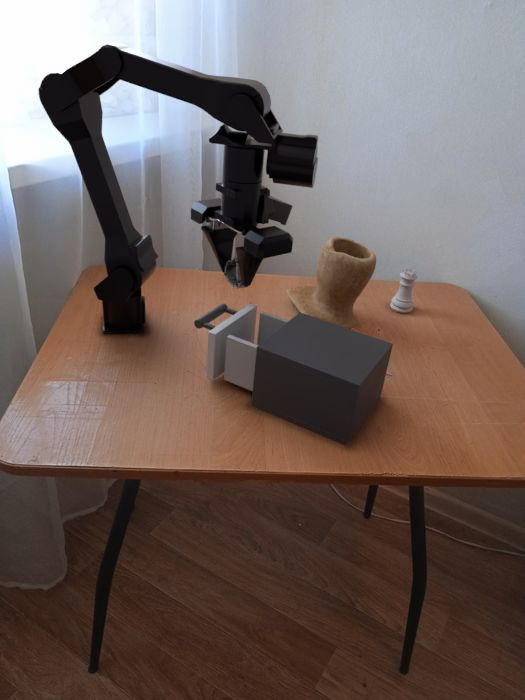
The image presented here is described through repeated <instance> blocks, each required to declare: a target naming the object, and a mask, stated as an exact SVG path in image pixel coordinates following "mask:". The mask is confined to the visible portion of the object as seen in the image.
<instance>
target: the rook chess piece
mask: <svg viewBox="0 0 525 700" xmlns="http://www.w3.org/2000/svg"><path fill="white" fill-rule="evenodd" d="M399 276H400V279H401V280H399V288H398V290H397V292H396V294H395V295H394V296H393V297H392V298H391V300H390V301H391V302H390V303H389V306H390V308H391V309H392V311H394V312H396V313H398V314H409V313H411V312H412V311H413V308H414V307H413V306H414V300H413V296H412V293H413V287H415V281H416V280H417V279H418V276H417V271H416V270H415V269H414V270H413V269H412V268H409V269H408V268H404V269H403V270H402V272H400V273H399Z"/></svg>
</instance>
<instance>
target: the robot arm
mask: <svg viewBox="0 0 525 700" xmlns="http://www.w3.org/2000/svg"><path fill="white" fill-rule="evenodd" d="M119 81H122V82H126V83H128V84H131V85H135V86H136V87H137V86H138V87H140V88H143V89H146V90H149V91H152V92H155V93H158V94H161V95H163V96H167V97H170V98H173V99H176V100H179V101H181V102H184V103H188V104H191V105H194V106H196V107H197V108H200V109H201V110H202V111H204V112H205V113H207V114H208V115H209V116H210V117H212V118H213V119H214V120H216V121H218V122H220V123H222V124H221V125H220V126H219V128H218V129H217V131H216V132H215V133H214V134H213V135H211V136H210V137H209V138H208V142H209V143H210V144H215V145H222V146H223V151H222V174H221V182H216V183H215V191H217V192H218V193H221V195H220V196H221V197H218V198H217V197H216V198H210V199H201V200H196V201H195V202H194V203H193V204H192V206H191V207H190V220H192V221H193V222H194V223H197V224H198V225H201V226H200V230H201V231H202V232H203V233H204V236H205V238H206V239H207V241H208V244H209V246H210V247H211V250H212V252H213V254H214V256H215V258H216V261H217V263H218V265H219V266H218V267H219V268H220V270H221V272H222V273H223V274H224V273H225V266H226V263H227V262H228V260H232V259H233V250H234V243H235V242H234V241H235V238H236V237H237V235H238V234H239V235H242V236H243V245H240V246H236V247H235V254H236V258H237V259H238V264H239V269H240V274H241V279H242V283H243V286H245V288H248V287H250V286H251V285H252V282H253V281H254V278H255V276H256V274H257V272H258V270H259V268H260V266H261V264H262V262H263V260H264V259H268V258H273V257H278V256H283V255H287V254H291V253H292V251H293V247H294V246H293V245H294V237H293V236H292V235H291V234H290V233H289V232H287V231H286V230H284V229H281V228H279V227H278V226H276V225H270V226H265V227H258V224H261V225H265V224H266V225H267V224H269V221H270V220H271V221H273V222H277V223H280V225H283V226H286V225H287V223H288V220H289V217H290V215H291V212H292V209H293V205H292V204H290V203H287V202H286V201H283V200H282V199H279V198H276V197H274V196H272V195H271V189H270V188H268V187H267V186H264V185H263V176H264V175H263V174H264V166H265V173H266V175H267V176H268V178H269V179H271V180H272V182H273V184H278V185H285V186H293V187H302V188H309V189H313V188H314V185H315V181H316V176H317V170H318V162H319V157H318V149H319V148H318V145H319V144H318V142H319V136H318V134H317V135H316V134H295V133H287V132H284V130H283V128H282V126H281V124H280V123H279V121H278V119H277V117H276V115H275V114H274V111H273V110H272V108H271V106H272V100H271V99H272V98H271V94H270V93H269V90H268V89H267V87H266V85H265V84H263V83H262V82H261V81H258V80H256V79H249V78H244V77H243V78H242V77H234V76H223V75H212V74H206V73H203V72H201V71H197V70H196V69H195V70H194V69H191V68H188V67H186V66H183V65H180V64H177V63H174V62H171V61H169V60H165V59H162V58H160V57H157V56H153V55H150V54H148V53H144V52H141V51H138V50H135V49H133V48H130V46H127V45H126V44H124V43H110V44H109V43H107V44H104V45H102V46H101V47H100V48H99V49H98V50H96V51H95V52H94V53H92V54H91V55H90V56H88V57H86V58H85V59H83V60H81V61H79V62H77V63H76V64H74V65H73V66H70V67H69V68H67V69H66V70H63V71H56V72H50V73H48V74H47V75H45V76H44V77H43V79H42V80H41V82H40V86H39V87H38V97H39V102H40V103H41V106H42V107H43V110H44V111H45V113H46V115H47V117H48V118H49V120H50V122H51V124H52V126H53V127H54V128H55V130H57V132H58V133H60V135H62V137H63V138H64V139H65V140H66V141H67V142H68V144H69V145H70V148H71V151H72V153H73V156H74V159H75V162H76V164H77V167H78V169H79V172H80V175H81V177H82V180H83V183H84V185H85V188H86V191H87V193H88V196H89V200H90V201H91V204H92V207H93V210H94V212H95V215H96V218H97V221H98V223H99V226H100V229H101V231H102V234H103V237H104V251H103V253H104V254H103V255H104V256H103V257H104V258H103V260H104V266H105V271H106V276H104V278H103V279H101V281H99V282H98V283H97V284H96V285H95V286H94V287H93V292H94V294H95V296H96V298H97V300H98V301H101V304H102V315H103V316H102V317H103V322H102V323H103V324H102V333H104V334H121V333H122V334H131V333H134V334H135V333H136V334H137V333H138V334H139V333H140V334H141V333H143V332H144V325H146V323H147V322H146V321H147V318H146V317H147V316H146V315H147V314H146V296H145V295H142V286H143V285H144V284H145V283H146V282H147V281H148V280H149V279H150V277H152V276H153V274H154V273H155V271H156V268H157V259H158V258H159V254H158V253H157V252H156V251H155V249H154V245H153V239H152V236H151V235H150V234H146V235H142V234H141V233H140V232H139V231H138V230H137V229H136V228H135V226H134V223H133V221H132V218H131V215H130V212H129V210H128V207H127V204H126V200H125V198H124V195H123V192H122V190H121V185H120V183H119V181H118V180H119V179H118V178H117V175H116V171H115V169H114V166H113V163H112V160H111V157H110V155H109V152H108V149H107V146H106V143H105V140H104V137H103V114H104V113H103V107H102V100H101V96H102V95H103V94H105V93H106V92H107V91H109V90H110V89H111V88H113V86H115V84H117V83H118V82H119ZM265 151H267V155H266V162H265V153H266V152H265ZM264 162H265V163H264ZM264 164H265V165H264ZM202 224H204V225H202ZM247 286H248V287H247Z"/></svg>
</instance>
